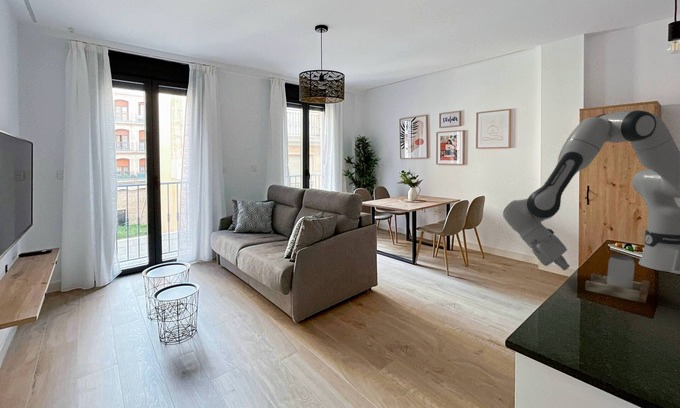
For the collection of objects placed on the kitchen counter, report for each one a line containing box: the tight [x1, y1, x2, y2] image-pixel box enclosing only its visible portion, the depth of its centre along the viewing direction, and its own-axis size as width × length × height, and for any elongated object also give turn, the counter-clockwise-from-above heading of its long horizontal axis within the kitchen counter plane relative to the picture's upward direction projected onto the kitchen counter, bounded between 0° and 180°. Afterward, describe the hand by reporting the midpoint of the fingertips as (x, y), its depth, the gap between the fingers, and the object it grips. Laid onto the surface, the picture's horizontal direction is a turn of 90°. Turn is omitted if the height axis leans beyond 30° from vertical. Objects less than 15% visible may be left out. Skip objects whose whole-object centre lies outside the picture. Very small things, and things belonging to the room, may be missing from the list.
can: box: [606, 254, 635, 289], centre depth 108 cm, size 6×6×12 cm
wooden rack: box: [584, 273, 650, 304], centre depth 109 cm, size 15×10×4 cm
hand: (567, 268), depth 119 cm, fingers closed
